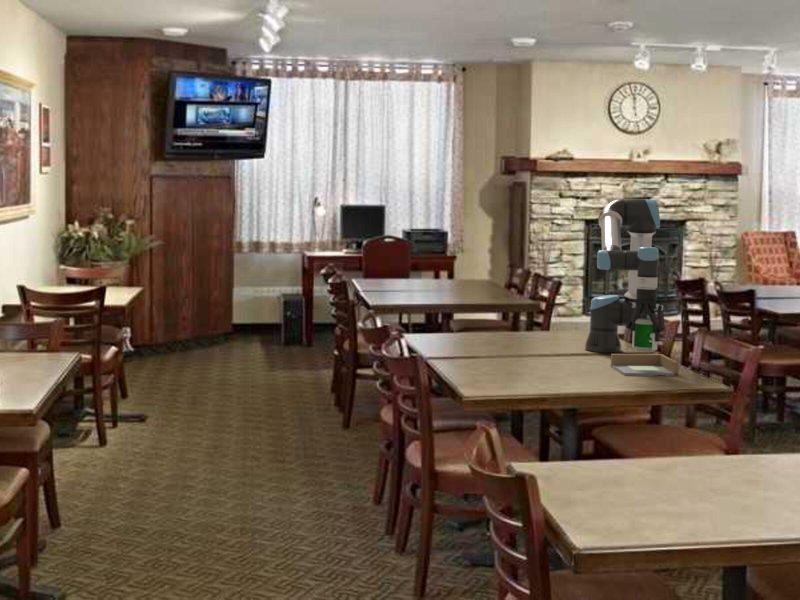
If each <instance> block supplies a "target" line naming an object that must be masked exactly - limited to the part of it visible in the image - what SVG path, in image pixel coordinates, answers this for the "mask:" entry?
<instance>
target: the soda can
mask: <svg viewBox="0 0 800 600" xmlns="http://www.w3.org/2000/svg"><path fill="white" fill-rule="evenodd" d="M653 333H654V329H653V323H652V321H651V319H650V318H638V319H637V320H636V321H635V345H634V347H635V348H634V349H635V350H636V351H637V352H645V353H646V352H647V353H648V352H649V353H650V352H653V350H652V334H653Z"/></svg>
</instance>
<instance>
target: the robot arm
mask: <svg viewBox="0 0 800 600" xmlns="http://www.w3.org/2000/svg"><path fill="white" fill-rule="evenodd" d="M659 207H660V206H659V204H658V200H655V199H648V198H619V199H618V198H617V199H614V200H612V201H611V202H609V203H607V204H606V205H604V207H603V208H602V209H601V211H600V213H599V215H598V225H599V228H601V229H600V230H601V232H600V233H601V249H599V250H598V251H597V254H596V255H597V257H596V268H597V269H599V270H606V271H629V272H628V285H627V286H628V288H627V289H628V290H627V291H626V292H625V293H624V296H623V298H620V296H619V294H618V295H617V294H607V295H606V294H605V295H600V296H595V297H593V298H592V299H591V300H590V308H589V310H590V317H589V318H590V320H589V332H588V336H587V337H586V338H587V339H586V341H585V343H584V345H585V346H584V350H586V351H589V352H594V353H595V352H596V353H618V352H622V343H621V339H620V337H619V332H618V330H619V329H618V328H619V327H626V329H628V330H630V339H631V340H632V341H631V342H632V344H631V348H632V349H635V347H634V345H635V321H636V320H637V319H638V318H650V319H651V321H652V323H653V329H654V333H653V334H652V352H654V351H657V350H658V343H659V342H660V339H661V333H662V332H665V331H666V328H665V327H666V326H665V316H664V314H665V313H664V310H665V305H664V304H659V303H658V302H657V299H658V289H657V288H658V283H659V282H658V280H659V279H658V276H659V275H658V274H659V273H658V272H659V258H660V254H659V248H658V247H654V246H652V243H653V241H652V240H653V236H654V235H655V234H656V233H657V229H660V227H661V219H660V218H661V217H660V216H661V215H660V208H659ZM621 228H627V231H626V232H627V233H628V234H629V235H630V243H629V245H630V246H629V248H630V250H623V249H622V236H621V232H622V231H621ZM656 310H657V311H656ZM656 312H657V313H656ZM656 314H657V316H656Z"/></svg>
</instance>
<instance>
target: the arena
mask: <svg viewBox="0 0 800 600" xmlns="http://www.w3.org/2000/svg"><path fill="white" fill-rule="evenodd" d="M627 366H654V367H656V368H657V369H659V370H661V371H634V370H632V369H631V368H629V367H627ZM679 367H680V363H679V362H678V361H677V360H674V359H672V358H671V357H669V356H666V355H665V354H662V353H660V354H659V353H611V354H610V368H612V369H614V370H615V371H617V372H619V373H620V374H621V375H623V376H624V377H631V376H633V377H635V376H636V377H655V376H654V375H665V376H664V377H679Z"/></svg>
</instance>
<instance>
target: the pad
mask: <svg viewBox="0 0 800 600" xmlns="http://www.w3.org/2000/svg"><path fill="white" fill-rule="evenodd" d="M627 367H629V368H631V369H632V370H634V371H661V370H659V369H657V368H656V367H654V366H627Z"/></svg>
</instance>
